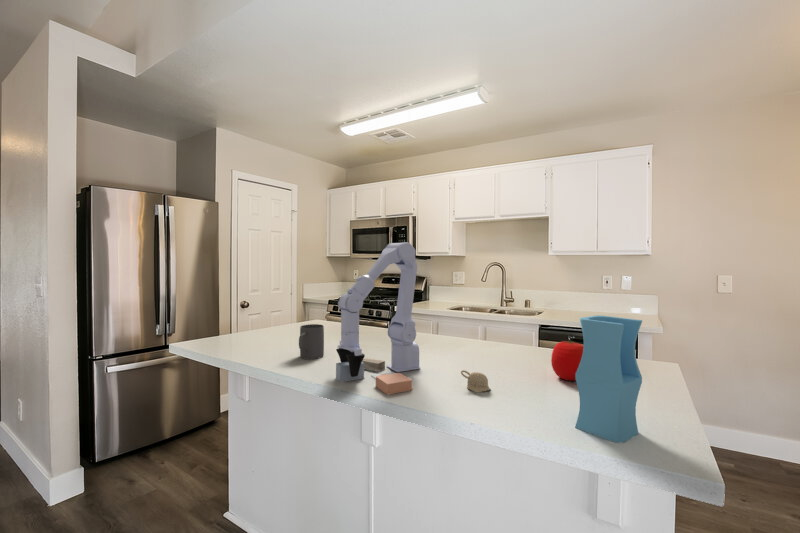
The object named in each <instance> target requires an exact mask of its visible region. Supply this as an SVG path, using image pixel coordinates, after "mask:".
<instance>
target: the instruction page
mask: <svg viewBox="0 0 800 533" xmlns="http://www.w3.org/2000/svg"><path fill="white" fill-rule="evenodd" d="M394 373H395V371H394V372H393V371H390V372H384V373H383V372H382V373H378V374H377V373H376V374H372V375H370V376H371V377H372V378H374V379H375V380H376V376H382V375H388V374H394Z"/></svg>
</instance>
